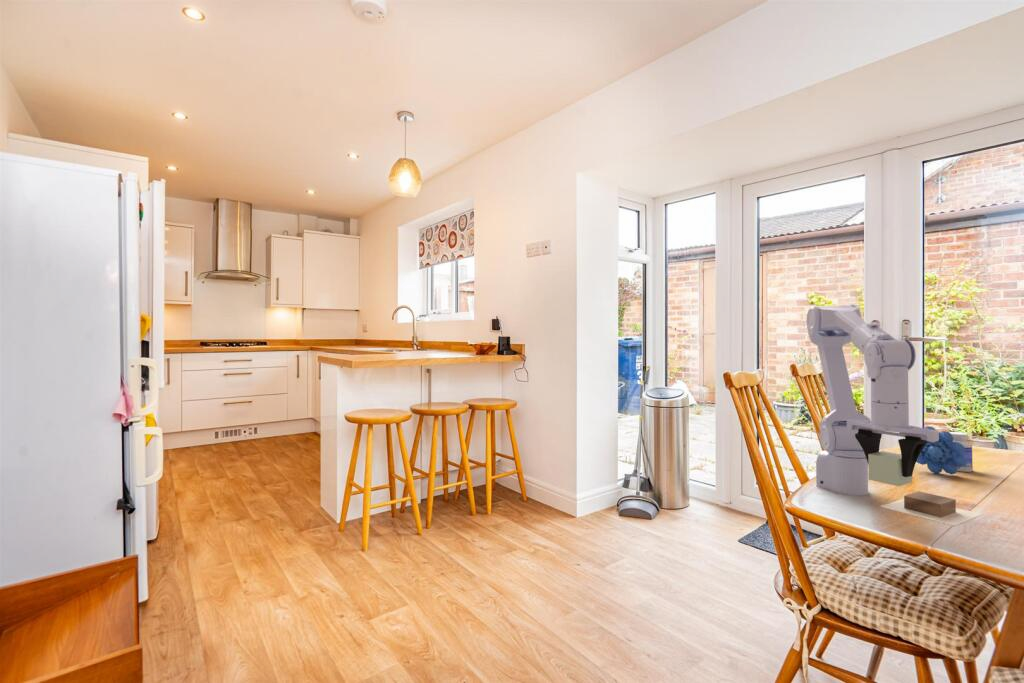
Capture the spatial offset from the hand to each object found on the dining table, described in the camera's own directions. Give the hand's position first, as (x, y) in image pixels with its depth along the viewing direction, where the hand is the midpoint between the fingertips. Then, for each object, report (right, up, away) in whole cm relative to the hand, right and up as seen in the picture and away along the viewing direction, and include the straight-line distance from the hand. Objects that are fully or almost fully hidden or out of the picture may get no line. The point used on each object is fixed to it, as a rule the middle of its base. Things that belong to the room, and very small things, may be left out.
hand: (890, 472), depth 93 cm
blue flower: (+36, -9, +31) cm, 49 cm away
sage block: (0, -2, 0) cm, 2 cm away
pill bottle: (+46, -9, +35) cm, 58 cm away
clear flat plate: (+10, -9, +3) cm, 14 cm away
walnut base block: (+10, -8, +3) cm, 14 cm away
